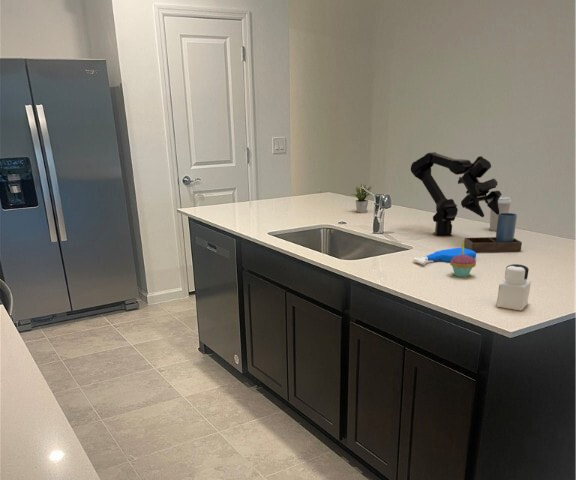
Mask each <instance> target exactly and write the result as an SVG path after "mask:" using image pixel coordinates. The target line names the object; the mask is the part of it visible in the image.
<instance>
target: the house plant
mask: <svg viewBox="0 0 576 480" xmlns="http://www.w3.org/2000/svg"><path fill="white" fill-rule="evenodd" d="M353 186H354V187H353V189H354V190H355V192H356V193H352V194H351V195H354V196H355V197H356V198H357V199H356V200H355V207H356V212H357V213H359V214H363V213H367V210H368V204H369V200H368V199H367V197H369V196H371V193H370V192H366V191H365V190H368V191H370V190H372V188H373V185H370V186H369V187H368V188H367V183H366V182H365V183H364V185H363V184H362V182H361V181H360V187H358V186H357V185H355V184H353ZM361 187H364V188H366V189H365V190H364V189H362V188H361Z"/></svg>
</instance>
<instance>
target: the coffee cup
mask: <svg viewBox="0 0 576 480" xmlns="http://www.w3.org/2000/svg"><path fill="white" fill-rule="evenodd" d="M512 203H513V201H512V199H511V197H510V196H505V195H501V196H500V198H499V199H498V206H499V212H500V213H510V212H509V211H510V207H511V204H512ZM489 213H490V214H489V230H490V231H492V232H497V224H498V216H499V214H500V213H499V214H498V215H497V214H496V213H495V212H494V211H492V210H491V209H490V212H489Z"/></svg>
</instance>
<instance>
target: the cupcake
mask: <svg viewBox="0 0 576 480" xmlns="http://www.w3.org/2000/svg"><path fill="white" fill-rule="evenodd" d="M461 248H462V255H457V256H455V257H454V258H452V259H451V262H449V265H450V266H451V267H452V271H453V275H454V276H455V277H458V278H467V277H469V275H470V273H471V271H472V269H474V268H475V267H476V265H477V261H476V259H473V258H472V257H471V256H467V255H464V248H465V247H464V239H462V242H461Z"/></svg>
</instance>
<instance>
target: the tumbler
mask: <svg viewBox="0 0 576 480" xmlns="http://www.w3.org/2000/svg"><path fill="white" fill-rule="evenodd" d="M517 218H518V214H517V213H512V212H508V213H500V214H499V216H498V224H497V231H495V232H496V233H495V237H496V239H495V241H496V242H497V243H498V242H513V240H514V238H515V232H516V226H517V225H516V224H517Z"/></svg>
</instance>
